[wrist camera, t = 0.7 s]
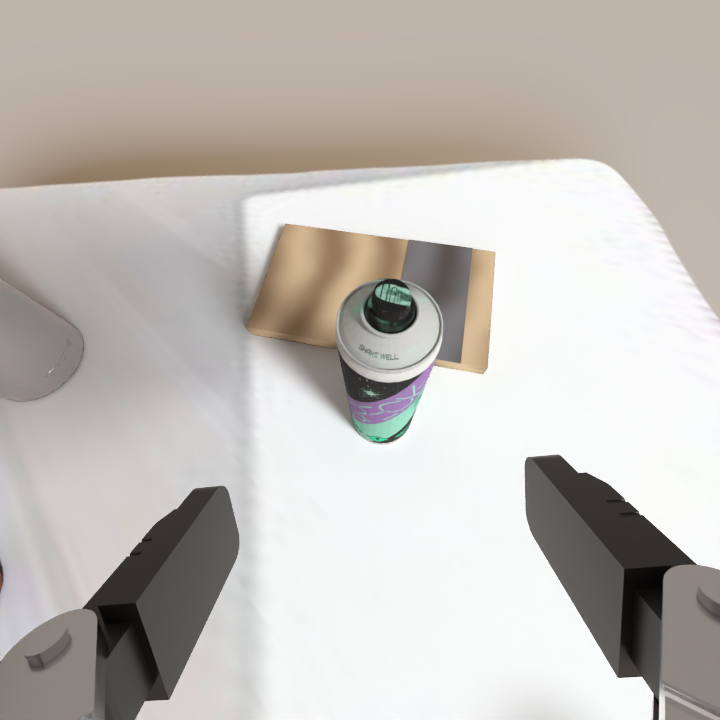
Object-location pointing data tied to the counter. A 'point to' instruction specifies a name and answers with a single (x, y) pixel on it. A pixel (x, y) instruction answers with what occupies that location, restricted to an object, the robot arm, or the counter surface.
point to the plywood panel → (367, 263)
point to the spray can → (387, 354)
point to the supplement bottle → (0, 580)
